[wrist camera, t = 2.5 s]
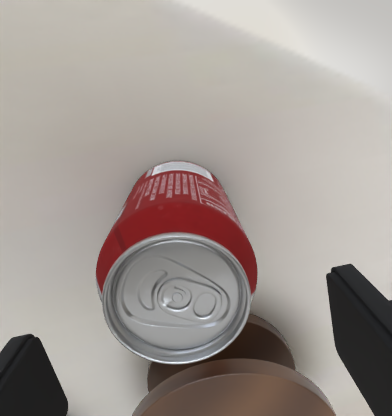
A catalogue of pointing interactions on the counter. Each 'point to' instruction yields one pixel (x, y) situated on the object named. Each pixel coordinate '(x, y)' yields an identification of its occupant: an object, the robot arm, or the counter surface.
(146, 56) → the counter surface
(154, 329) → the soda can
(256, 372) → the stand
